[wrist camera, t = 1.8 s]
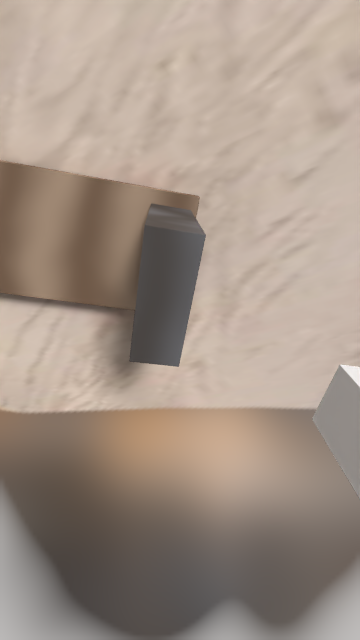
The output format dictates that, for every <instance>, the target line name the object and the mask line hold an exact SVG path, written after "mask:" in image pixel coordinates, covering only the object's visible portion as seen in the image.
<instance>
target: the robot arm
mask: <svg viewBox="0 0 360 640" xmlns="http://www.w3.org/2000/svg"><path fill="white" fill-rule="evenodd" d="M312 420H313V422H314V423H315V425H316V426H317V428H318V430H319V432H320V433H321V435H322V437H323V438H324V440H325V442H326V443H327V445H328V447H329V449H330V450H331V452H332V453H333V455H334V457H335V459H336V460H337V462H338V464H339V465H340V467H341V469H342V470H343V472H344V474H345V476H346V477H347V479H348V481H349V482H350V484H351V486H352V487H353V489H354V491H355V492H356V494H357V496H358V497H359V499H360V368H359V367H356V366H347V365H339V367H338V369H337V371H336V373H335V375H334V377H333V379H332V381H331V383H330V385H329V387H328V389H327V391H326V393H325V395H324V397H323V398H322V400H321V402H320V404H319V406H318V408H317V410H316V412H315V414H314V416H313V418H312Z"/></svg>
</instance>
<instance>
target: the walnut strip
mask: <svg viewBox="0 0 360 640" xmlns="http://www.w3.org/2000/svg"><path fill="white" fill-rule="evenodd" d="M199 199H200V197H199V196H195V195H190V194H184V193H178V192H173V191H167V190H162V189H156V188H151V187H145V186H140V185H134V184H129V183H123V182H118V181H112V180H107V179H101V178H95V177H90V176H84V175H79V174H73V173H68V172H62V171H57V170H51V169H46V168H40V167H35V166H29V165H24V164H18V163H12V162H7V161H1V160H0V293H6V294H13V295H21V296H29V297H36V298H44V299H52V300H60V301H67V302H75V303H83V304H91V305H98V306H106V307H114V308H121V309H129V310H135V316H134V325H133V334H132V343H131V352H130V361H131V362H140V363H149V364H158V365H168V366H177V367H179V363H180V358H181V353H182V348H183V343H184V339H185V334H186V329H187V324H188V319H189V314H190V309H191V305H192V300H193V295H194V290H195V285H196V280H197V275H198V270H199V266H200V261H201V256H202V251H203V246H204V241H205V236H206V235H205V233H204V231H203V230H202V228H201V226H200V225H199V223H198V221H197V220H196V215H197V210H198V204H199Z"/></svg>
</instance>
